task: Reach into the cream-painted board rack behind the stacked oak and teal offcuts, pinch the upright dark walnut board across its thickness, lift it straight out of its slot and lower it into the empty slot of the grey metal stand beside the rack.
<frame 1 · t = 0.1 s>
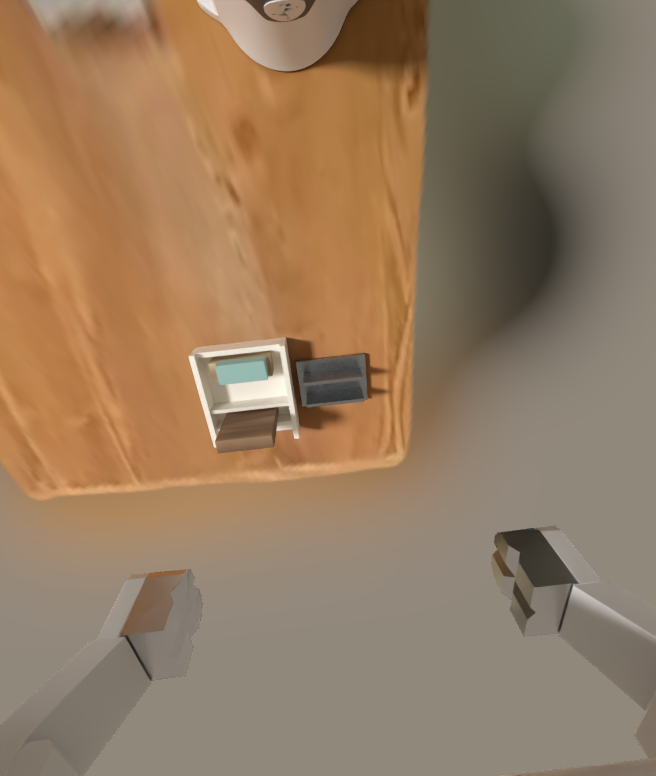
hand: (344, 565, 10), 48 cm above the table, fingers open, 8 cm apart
oak offcut: (243, 362, 57), point 1 cm above the table, touching rack, teal offcut
stand: (332, 379, 60), on the table
walnut board: (254, 410, 61), point 1 cm above the table, touching rack
teal offcut: (243, 367, 54), point 4 cm above the table, touching oak offcut
rack: (250, 388, 60), on the table
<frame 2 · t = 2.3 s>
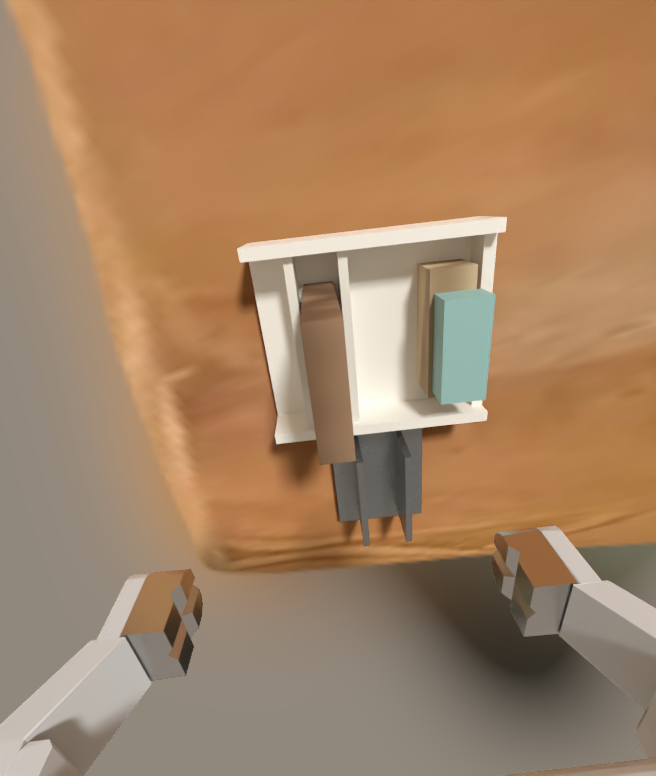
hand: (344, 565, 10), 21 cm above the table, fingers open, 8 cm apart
oak offcut: (437, 324, 27), point 1 cm above the table, touching rack, teal offcut
stand: (376, 467, 34), on the table
walnut board: (324, 337, 27), point 1 cm above the table, touching rack
teal offcut: (455, 343, 25), point 4 cm above the table, touching oak offcut
rack: (368, 328, 28), on the table
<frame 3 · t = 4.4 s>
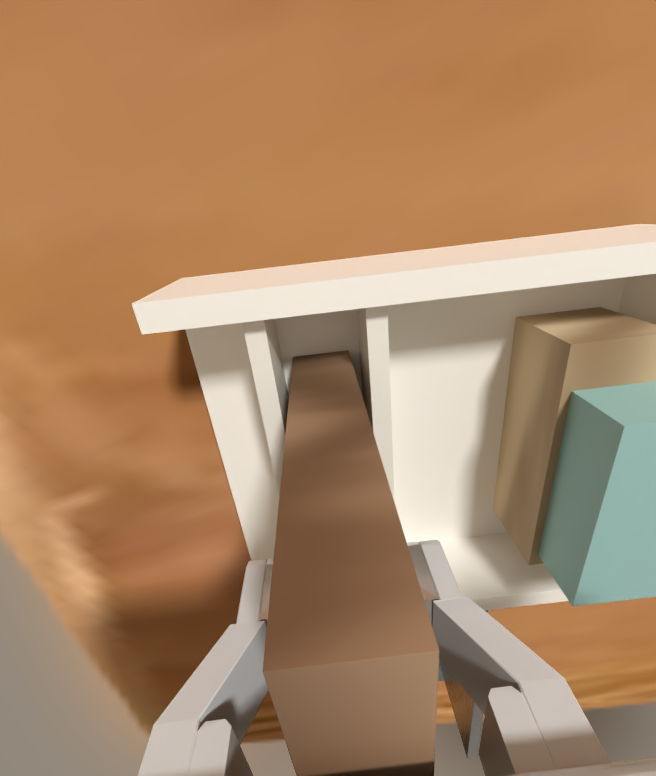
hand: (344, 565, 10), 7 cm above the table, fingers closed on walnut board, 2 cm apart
oak offcut: (539, 421, 15), point 1 cm above the table, touching rack, teal offcut
stand: (412, 617, 22), on the table
walnut board: (331, 445, 15), point 1 cm above the table, touching gripper, rack
teal offcut: (596, 478, 12), point 4 cm above the table, touching oak offcut
rack: (411, 422, 16), on the table
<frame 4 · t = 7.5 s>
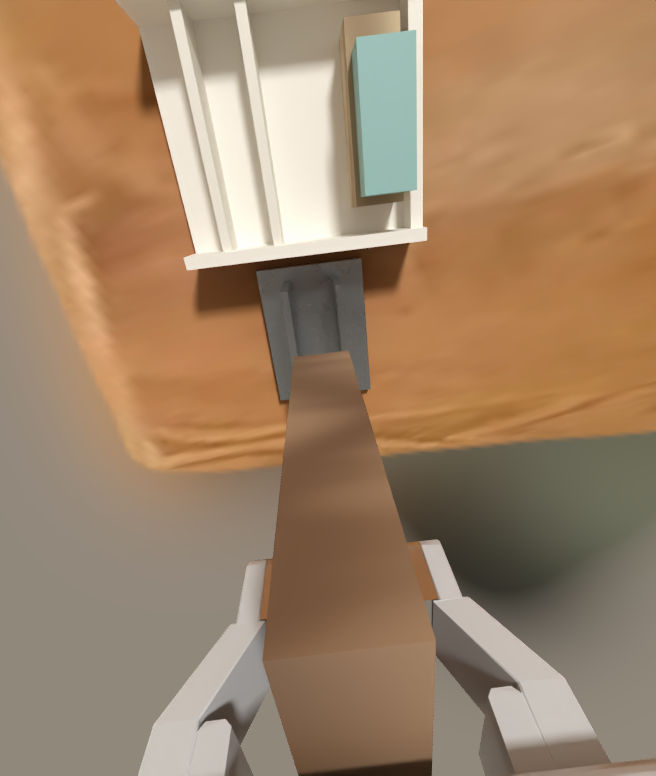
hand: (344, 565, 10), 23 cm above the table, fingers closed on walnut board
oak offcut: (368, 128, 24), point 1 cm above the table, touching rack, teal offcut
stand: (317, 332, 31), on the table
walnut board: (332, 445, 15), point 17 cm above the table, touching gripper
teal offcut: (381, 127, 21), point 4 cm above the table, touching oak offcut
rack: (292, 140, 25), on the table
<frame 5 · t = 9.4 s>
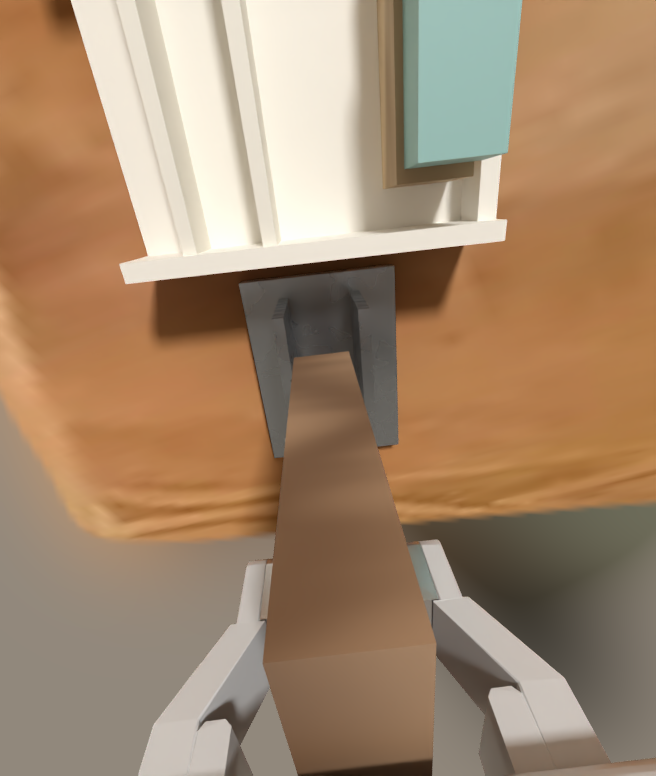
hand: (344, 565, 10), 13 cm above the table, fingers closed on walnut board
oak offcut: (415, 60, 15), point 1 cm above the table, touching rack, teal offcut
stand: (327, 367, 22), on the table
walnut board: (332, 446, 15), point 8 cm above the table, touching gripper
teal offcut: (446, 45, 12), point 4 cm above the table, touching oak offcut
rack: (294, 82, 16), on the table
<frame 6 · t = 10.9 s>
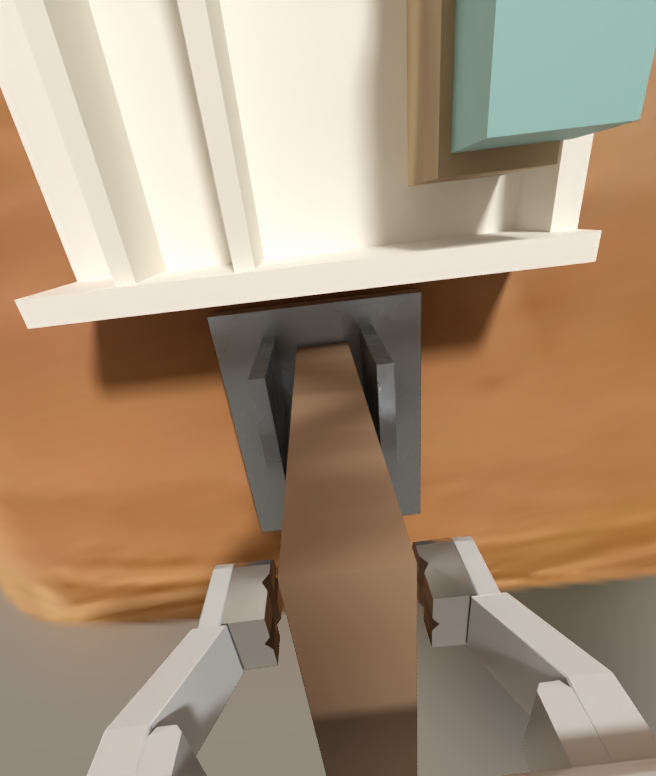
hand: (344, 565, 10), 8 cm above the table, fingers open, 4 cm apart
stand: (328, 420, 17), on the table
walnut board: (332, 431, 16), point 1 cm above the table, touching stand
rack: (280, 29, 11), on the table
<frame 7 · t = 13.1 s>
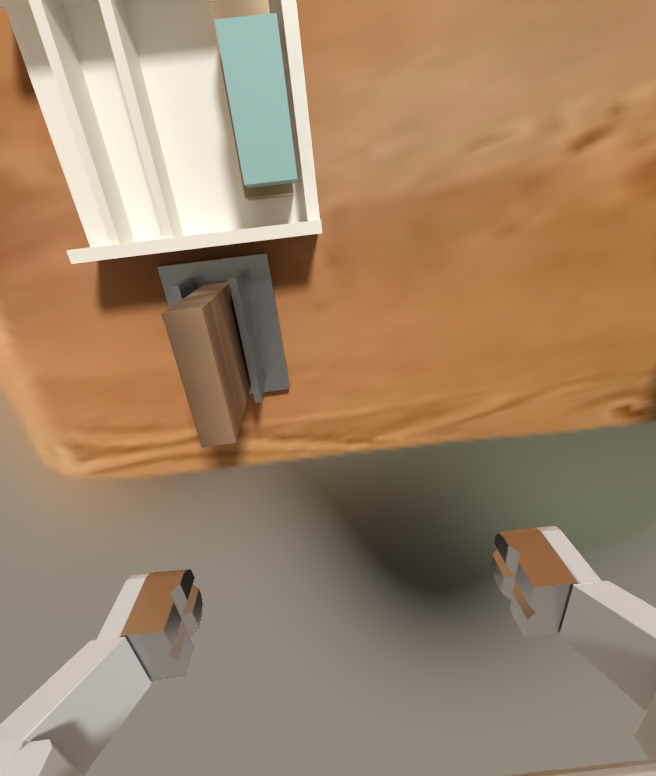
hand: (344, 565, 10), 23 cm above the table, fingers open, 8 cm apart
oak offcut: (259, 119, 23), point 1 cm above the table, touching rack, teal offcut
stand: (230, 330, 30), on the table
walnut board: (230, 333, 29), point 1 cm above the table, touching stand
teal offcut: (262, 115, 21), point 4 cm above the table, touching oak offcut
rack: (185, 131, 24), on the table
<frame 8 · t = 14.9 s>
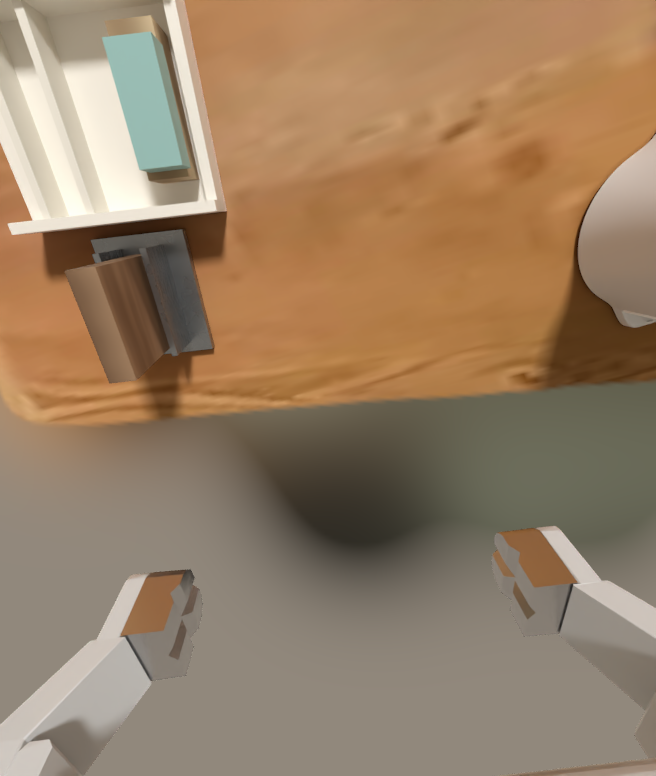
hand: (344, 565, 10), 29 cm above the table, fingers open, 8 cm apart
oak offcut: (165, 115, 28), point 1 cm above the table, touching rack, teal offcut
stand: (159, 296, 35), on the table
walnut board: (157, 298, 34), point 1 cm above the table, touching stand
teal offcut: (156, 112, 26), point 4 cm above the table, touching oak offcut
rack: (107, 125, 29), on the table
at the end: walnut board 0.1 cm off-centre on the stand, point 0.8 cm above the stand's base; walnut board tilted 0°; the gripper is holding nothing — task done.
